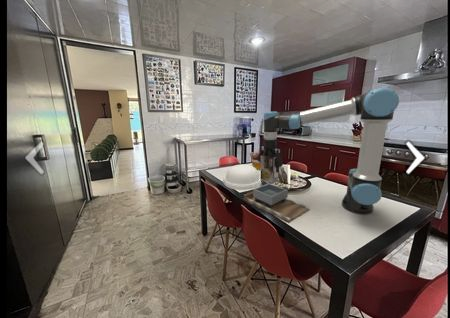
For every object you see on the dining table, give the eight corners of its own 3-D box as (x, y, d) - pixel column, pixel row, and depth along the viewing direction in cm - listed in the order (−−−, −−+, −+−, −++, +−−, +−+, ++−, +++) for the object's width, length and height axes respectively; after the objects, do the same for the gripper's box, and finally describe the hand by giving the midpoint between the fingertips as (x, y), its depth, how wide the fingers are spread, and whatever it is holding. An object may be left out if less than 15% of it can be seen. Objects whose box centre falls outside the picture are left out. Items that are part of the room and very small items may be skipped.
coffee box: (278, 180, 118) (279, 155, 114) (273, 183, 114) (273, 157, 110) (265, 177, 124) (266, 153, 120) (260, 180, 120) (260, 155, 116)
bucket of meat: (260, 172, 180) (260, 151, 175) (246, 169, 191) (246, 149, 186) (272, 167, 194) (272, 147, 189) (258, 164, 205) (258, 146, 200)
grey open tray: (287, 201, 120) (287, 189, 118) (271, 209, 112) (271, 197, 110) (268, 193, 132) (268, 183, 130) (252, 200, 123) (252, 189, 121)
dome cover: (259, 175, 172) (259, 160, 168) (265, 189, 143) (265, 171, 139) (223, 176, 173) (223, 161, 169) (222, 190, 144) (221, 172, 140)
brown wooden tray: (309, 210, 112) (309, 203, 111) (288, 222, 100) (288, 216, 99) (264, 191, 138) (264, 186, 137) (243, 200, 127) (243, 194, 126)
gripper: (252, 137, 119) (252, 172, 125) (281, 141, 102) (280, 181, 107) (260, 136, 123) (260, 169, 129) (290, 140, 106) (288, 178, 112)
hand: (269, 175), depth 118 cm, fingers closed on coffee box, 10 cm apart
